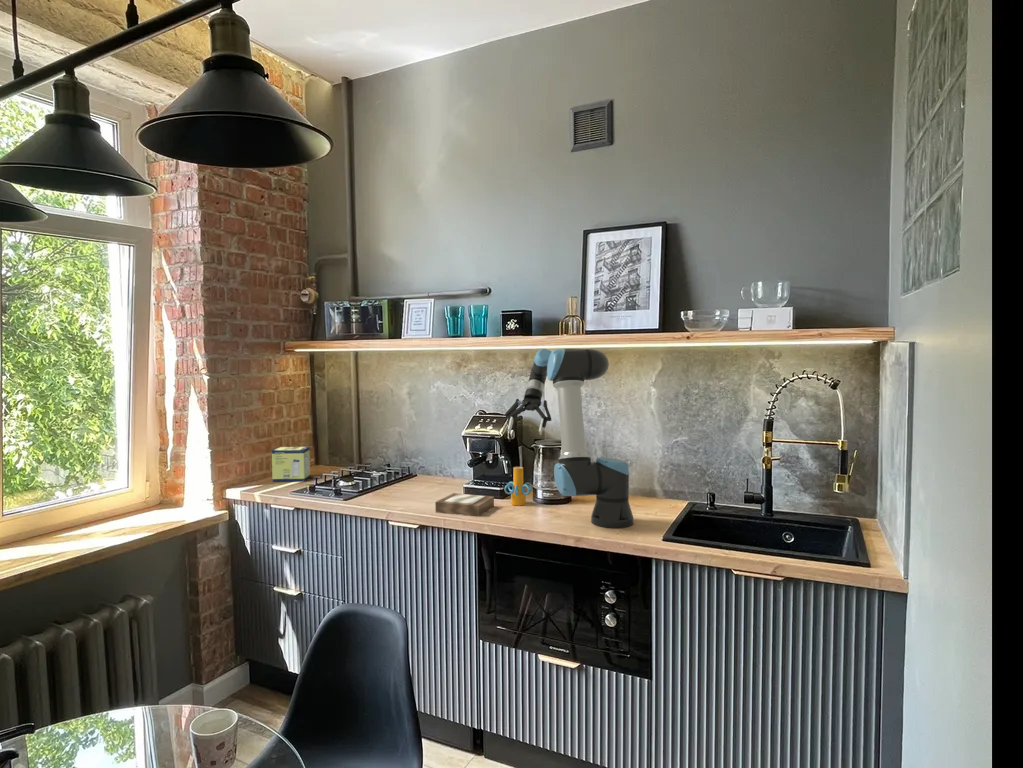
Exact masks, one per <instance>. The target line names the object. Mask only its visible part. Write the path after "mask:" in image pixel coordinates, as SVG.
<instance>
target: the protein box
mask: <svg viewBox="0 0 1023 768" xmlns="http://www.w3.org/2000/svg"><path fill="white" fill-rule="evenodd" d="M271 471H272V477H271V478H272V483H299V482H301V483H303V482H306V481H307V480H309V479H310V478H311V455H310V446H277V447H275V448H274V449H272V450H271Z"/></svg>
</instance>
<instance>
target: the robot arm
mask: <svg viewBox="0 0 1023 768" xmlns="http://www.w3.org/2000/svg"><path fill="white" fill-rule="evenodd" d="M533 359H534V360H533V363H532V365H531V368H530V371H529V377H528V381H527V384H526V388H525V392H524V396H523V399H522V400H520V399H519V398H516V399H515V401H514V403H513V404H512V405H511V406H510V407H509V409H507V411H506V412H505V413H504V416H505V419H507V422H506V424H507V432H508V433H509V434H511V432H512V430H513V429H512V427H513V424H514V419H515V418H516V417H517V416H519V415H520V414H521V413H523V412H525V411H532V412H534V411H536V413H538V414H539V416H540V418H541V420H540V425H539V428H538V433H539V435H540V436H542V434H543V432H544V431H543V430H544V429H545V428H546V427H547V422H552V416H551V414H550V410H549V407H548V401H547V400H546V399H544V400H543V401H542V397H543V393H544V390H545V384H546V382H547V381H546V380H547V379H548V381H552V387H554V388H555V389H556V390H557V402H558V414H559V415H558V416H559V428H560V431H559V432H560V441H561V445H560V446H561V455H560V456H559V457H558V460H557V461H558V463H556V464H554V468H553V476H554V482H555V485H556V488H557V490H558V492H559V493H560V495H561V496H564V497H580V496H582V497H583V496H596V497H595V503H594V506H593V509H592V513H591V516H590V517H591V518H590V520H591V523H592V524H594V525H596V526H598V527H601V528H602V527H603V528H611V529H617V528H621V529H622V528H628V527H630V526H631V527H632V526H633V525H634V515H633V512H632V507H631V505H630V501H629V497H630V495H629V493H630V487H629V486H630V483H629V482H630V471H629V470H630V467H629V464H628V463H627V461H624V460H621V459H618V458H614V457H613V458H612V457H603V456H601V457H600V456H599V457H597V458H596V460H595V462H594V461H592V459H591V456H590V455H589V454H588V453H587V452H586V451H587V450H586V440H585V439H586V437H585V425H584V413H583V402H582V401H583V400H582V391H581V390H582V389H581V388H582V387H583V386H584V385H585V381H591V380H596V379H600V378H601V377H603V376H604V375H605V374H606V373H607V372H608V370H609V366H610V363H609V359H608V357H607V355H606V354H605V353H603V352H602V351H600V350H597V349H592V348H585V349H584V348H561V349H553V350H552V351H551V350H550V349H547V348H542V349H541V348H540V349H539V350H538V351H537V352H536V354H535V356H534V358H533ZM540 406H542V407H543V408H544V411H545V413H546V414H545V413H544V412H543V411H542V410H541V408H540ZM632 524H633V525H632Z"/></svg>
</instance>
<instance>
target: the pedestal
mask: <svg viewBox="0 0 1023 768" xmlns="http://www.w3.org/2000/svg"><path fill="white" fill-rule="evenodd" d="M494 507H495V496H493V495H492V496H490V495H481V494H480V495H477V494H468V493H467V494H466V493H456V492H453V493H451V494H449V495H447V496H445V497H443V498H440V499H439V500H436V501H435V513H438V514H439V513H440V514H448V515H450V514H451V515H458V514H464V515H463V516H468V515H474V516H473V517H480V516H482V515H483V514H485V513H486V512H487V511H489V510H491V509H492V508H494ZM484 512H485V513H484ZM479 515H480V516H479Z"/></svg>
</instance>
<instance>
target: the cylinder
mask: <svg viewBox="0 0 1023 768" xmlns="http://www.w3.org/2000/svg"><path fill="white" fill-rule="evenodd" d="M512 469H513V474H512V475H513V478H512V479H513V480H512V481H509V482H508V483H507V484H506V485H505V486H504V492H505V494H506V495H510V504H511V505H512V506H525V505H526V503H527V502H526V501H527V498H526V496H528V495H529V494H530V493H531V492H532V490H533V484H532V483H531V482H528V481H527V482H524V467H523V466H513V467H512ZM525 487H526V488H527V489H526V488H525ZM511 488H512V489H511ZM507 490H508V491H509V492H508V491H507Z"/></svg>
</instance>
